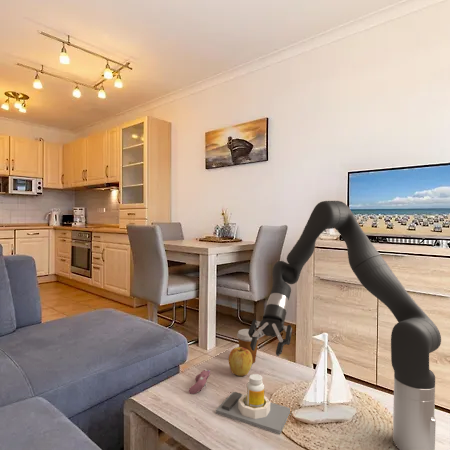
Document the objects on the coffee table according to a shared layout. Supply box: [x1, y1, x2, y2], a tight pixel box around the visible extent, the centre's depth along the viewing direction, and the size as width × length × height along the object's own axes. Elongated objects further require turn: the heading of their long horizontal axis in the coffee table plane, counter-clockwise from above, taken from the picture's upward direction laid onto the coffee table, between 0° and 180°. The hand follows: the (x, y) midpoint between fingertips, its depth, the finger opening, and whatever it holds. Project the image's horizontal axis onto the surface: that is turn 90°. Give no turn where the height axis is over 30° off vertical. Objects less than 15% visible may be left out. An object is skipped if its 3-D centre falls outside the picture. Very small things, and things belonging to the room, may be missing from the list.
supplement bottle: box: [246, 373, 265, 408], centre depth 98 cm, size 5×5×10 cm
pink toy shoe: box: [188, 368, 211, 395], centre depth 111 cm, size 10×5×7 cm, turn 170°
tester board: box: [215, 391, 291, 435], centre depth 97 cm, size 20×12×4 cm, turn 63°
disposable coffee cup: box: [236, 328, 259, 365], centre depth 134 cm, size 10×10×12 cm
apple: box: [227, 346, 253, 377], centre depth 122 cm, size 9×9×10 cm
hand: (264, 352), depth 105 cm, fingers open, 8 cm apart
